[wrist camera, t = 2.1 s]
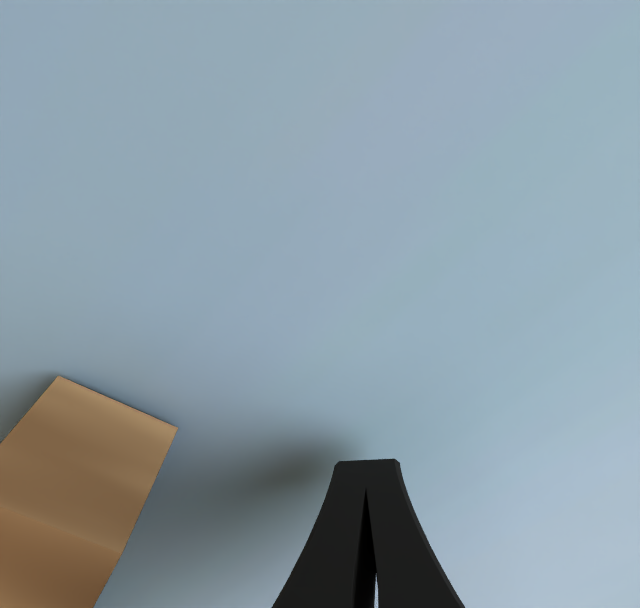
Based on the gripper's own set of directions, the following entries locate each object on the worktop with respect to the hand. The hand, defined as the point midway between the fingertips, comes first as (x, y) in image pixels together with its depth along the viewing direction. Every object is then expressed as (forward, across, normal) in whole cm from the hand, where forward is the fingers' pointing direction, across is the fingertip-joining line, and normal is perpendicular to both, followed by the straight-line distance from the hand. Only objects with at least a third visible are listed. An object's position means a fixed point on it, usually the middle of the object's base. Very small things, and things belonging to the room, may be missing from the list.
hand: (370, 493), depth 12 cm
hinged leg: (+1, +11, +5) cm, 12 cm away
